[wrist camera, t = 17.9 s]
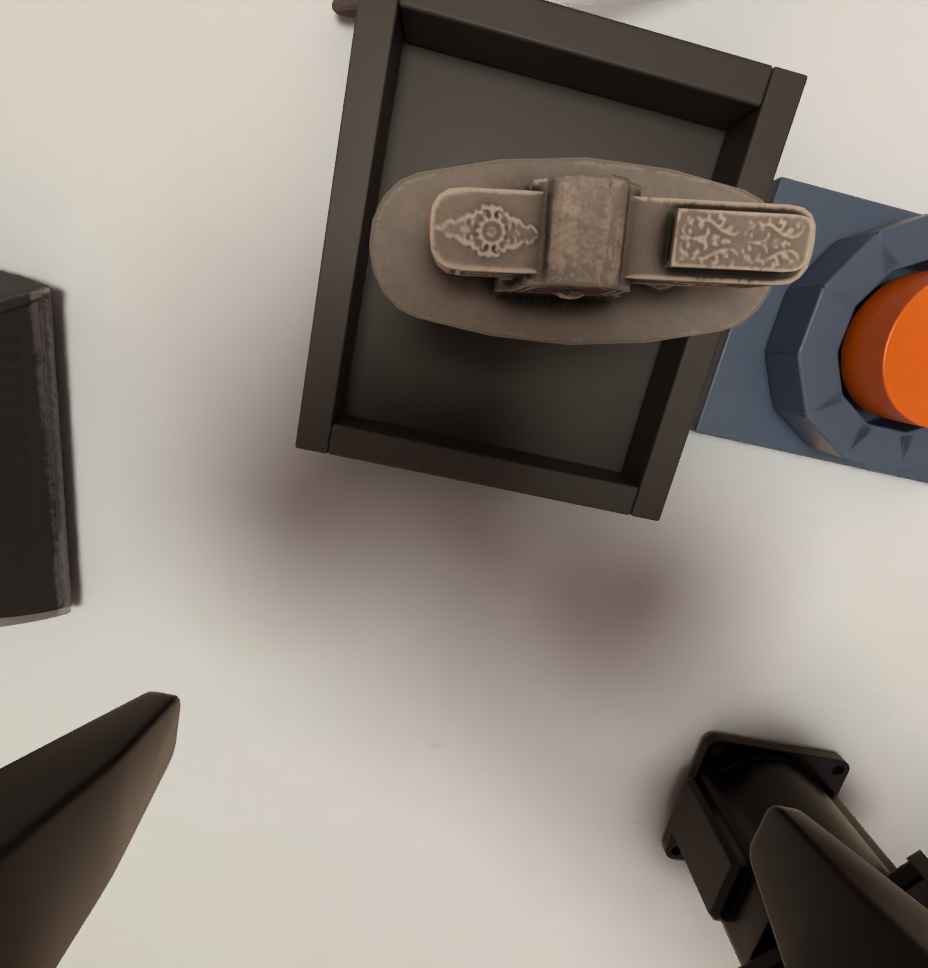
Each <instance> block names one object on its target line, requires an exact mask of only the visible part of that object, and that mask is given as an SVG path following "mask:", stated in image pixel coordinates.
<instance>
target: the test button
mask: <svg viewBox="0 0 928 968" xmlns="http://www.w3.org/2000/svg"><path fill="white" fill-rule="evenodd" d="M840 363H841V373H842V379H843V382H844V385H845V387H846V389H847V391H848V393H849V395H850V396H851V398H852V399H853V400H854V402H855V403H857V404H858V405H859V406H860V407H861V408H862V409H863V410H865V411H866V412H868V413H870V414H872V415H874V416H877V417H880V418H884V419H888V420H893V421H898V422H902V423H907V424H912V425H916V426H921V427H925V428H928V271H919V272H914V273H910V274H906V275H904V276H901V277H899V278H896V279H894V280H893V281H891V282H889V283H887V284H886V285H884V286H883V287H881V288H880V289H878V290H877V291H876V292H875V293H874V294H873V295H871V296H870V297H869V298H868V299H867V301H866V302H865V303H864V304H863V305H862V306H861V307H860V309H859V310H858V311H857V313H856V314H855V316H854V318H853V319H852V321H851V323H850V325H849V327H848V329H847V332H846V334H845V337H844V340H843V345H842V350H841V360H840Z"/></svg>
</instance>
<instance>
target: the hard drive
mask: <svg viewBox="0 0 928 968" xmlns="http://www.w3.org/2000/svg"><path fill="white" fill-rule="evenodd" d="M50 292H51V289H50V288H49V287H48V286H45V285H41V284H38V283H36V282H34V281H32V280H29V279H26V278H23V277H21V276H18V275H13V274H9V273H6V272H3V271H0V627H2V626H9V625H16V624H22V623H28V622H33V621H38V620H43V619H47V618H52V617H56V616H60V615H63V614H67V613H69V612H70V610H71V604H72V600H71V583H70V574H69V559H68V545H67V531H66V517H65V511H66V509H65V499H64V480H63V466H62V452H61V438H60V424H59V407H58V392H57V380H56V367H55V351H54V335H53V322H52V305H51V295H50Z"/></svg>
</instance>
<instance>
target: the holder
mask: <svg viewBox="0 0 928 968" xmlns="http://www.w3.org/2000/svg"><path fill="white" fill-rule="evenodd" d="M806 80H807V76H806V75H803V74H799V73H796V72H792V71H789V70H785V69H782V68H779V67H774V68H773V69H772V66H771V65H767V64H764V63H760V62H757V61H753V60H750V59H746V58H743V57H739V56H736V55H732V54H729V53H725V52H722V51H718V50H715V49H712V48H708V47H705V46H701V45H698V44H694V43H691V42H687V41H684V40H680V39H677V38H673V37H670V36H666V35H663V34H659V33H656V32H653V31H649V30H646V29H642V28H639V27H635V26H632V25H628V24H625V23H621V22H618V21H614V20H611V19H607V18H604V17H600V16H597V15H594V14H590V13H587V12H583V11H580V10H576V9H573V8H569V7H566V6H562V5H559V4H555V3H552V2H548V1H545V0H358V5H357V13H356V20H355V27H354V34H353V41H352V48H351V55H350V62H349V69H348V76H347V84H346V91H345V98H344V105H343V112H342V119H341V126H340V133H339V140H338V147H337V154H336V162H335V169H334V176H333V183H332V190H331V197H330V204H329V211H328V218H327V225H326V233H325V240H324V247H323V254H322V261H321V268H320V275H319V282H318V289H317V296H316V303H315V311H314V318H313V325H312V332H311V339H310V346H309V353H308V360H307V367H306V374H305V381H304V389H303V396H302V403H301V410H300V417H299V424H298V431H297V438H296V445H295V446H296V448H300V449H305V450H310V451H315V452H320V453H325V454H326V453H329V454H331V455H336V456H341V457H346V458H351V459H356V460H361V461H366V462H371V463H376V464H380V465H385V466H390V467H395V468H400V469H405V470H410V471H415V472H420V473H425V474H430V475H434V476H439V477H444V478H449V479H454V480H459V481H464V482H469V483H474V484H479V485H484V486H488V487H493V488H498V489H503V490H508V491H513V492H518V493H523V494H528V495H533V496H538V497H542V498H547V499H552V500H557V501H562V502H567V503H572V504H577V505H582V506H587V507H592V508H596V509H601V510H606V511H611V512H616V513H621V514H626V515H630V514H631V515H632V516H635V517H640V518H645V519H650V520H655V521H659V519H660V516H661V513H662V510H663V507H664V504H665V501H666V498H667V495H668V493H669V490H670V487H671V484H672V481H673V478H674V475H675V472H676V469H677V466H678V463H679V460H680V457H681V454H682V451H683V448H684V445H685V442H686V439H687V436H688V433H689V430H690V427H691V424H692V421H693V418H694V415H695V412H696V409H697V406H698V403H699V400H700V397H701V394H702V391H703V388H704V385H705V382H706V379H707V376H708V373H709V370H710V367H711V364H712V361H713V358H714V355H715V352H716V349H717V346H718V343H719V340H720V337H721V334H722V331H718V332H712V333H705V334H699V335H692V336H686V337H679V338H673V339H667V340H660V341H654V342H645V343H613V344H581V345H566V344H558V343H549V342H541V341H532V340H523V339H515V338H506V337H498V336H490V335H486V334H482V333H478V332H473V331H469V330H465V329H461V328H457V327H453V326H449V325H445V324H440V323H436V322H432V321H428V320H425V319H421V318H417V317H414V316H412V315H410V314H408V313H406V312H404V311H402V310H400V309H398V308H397V307H396V306H395V305H394V303H393V302H392V301H391V300H390V299H389V298H388V297H387V296H386V295H385V294H384V293H383V291H382V289H381V287H380V285H379V283H378V280H377V278H376V276H375V274H374V272H373V268H372V261H371V254H370V247H369V242H370V235H371V228H372V220H373V218H374V215H375V213H376V211H377V209H378V207H379V205H380V203H381V200H382V198H383V197H384V196H385V194H386V193H387V192H388V191H389V190H390V189H391V188H392V187H393V186H394V185H395V184H396V183H397V182H398V181H399V180H402V179H404V178H406V177H409V176H411V175H414V174H416V173H419V172H424V171H431V170H437V169H443V168H450V167H456V166H462V165H469V164H475V163H481V162H488V161H494V160H500V159H542V158H585V157H587V158H594V159H601V160H608V161H616V162H623V163H630V164H637V165H645V166H652V167H659V168H666V169H672V170H675V171H679V172H682V173H686V174H689V175H693V176H696V177H700V178H703V179H707V180H711V181H714V182H718V183H721V184H725V185H728V186H732V187H735V188H739V189H742V190H746V191H747V192H749V193H751V194H753V195H754V196H756V197H758V198H760V199H761V200H763V202H764V203H766V200H767V197H768V194H769V191H770V188H771V185H772V182H773V179H774V176H775V173H776V170H777V167H778V164H779V161H780V158H781V155H782V152H783V149H784V146H785V143H786V140H787V137H788V134H789V131H790V128H791V125H792V122H793V119H794V116H795V113H796V110H797V107H798V104H799V101H800V98H801V95H802V92H803V89H804V86H805V83H806Z"/></svg>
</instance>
